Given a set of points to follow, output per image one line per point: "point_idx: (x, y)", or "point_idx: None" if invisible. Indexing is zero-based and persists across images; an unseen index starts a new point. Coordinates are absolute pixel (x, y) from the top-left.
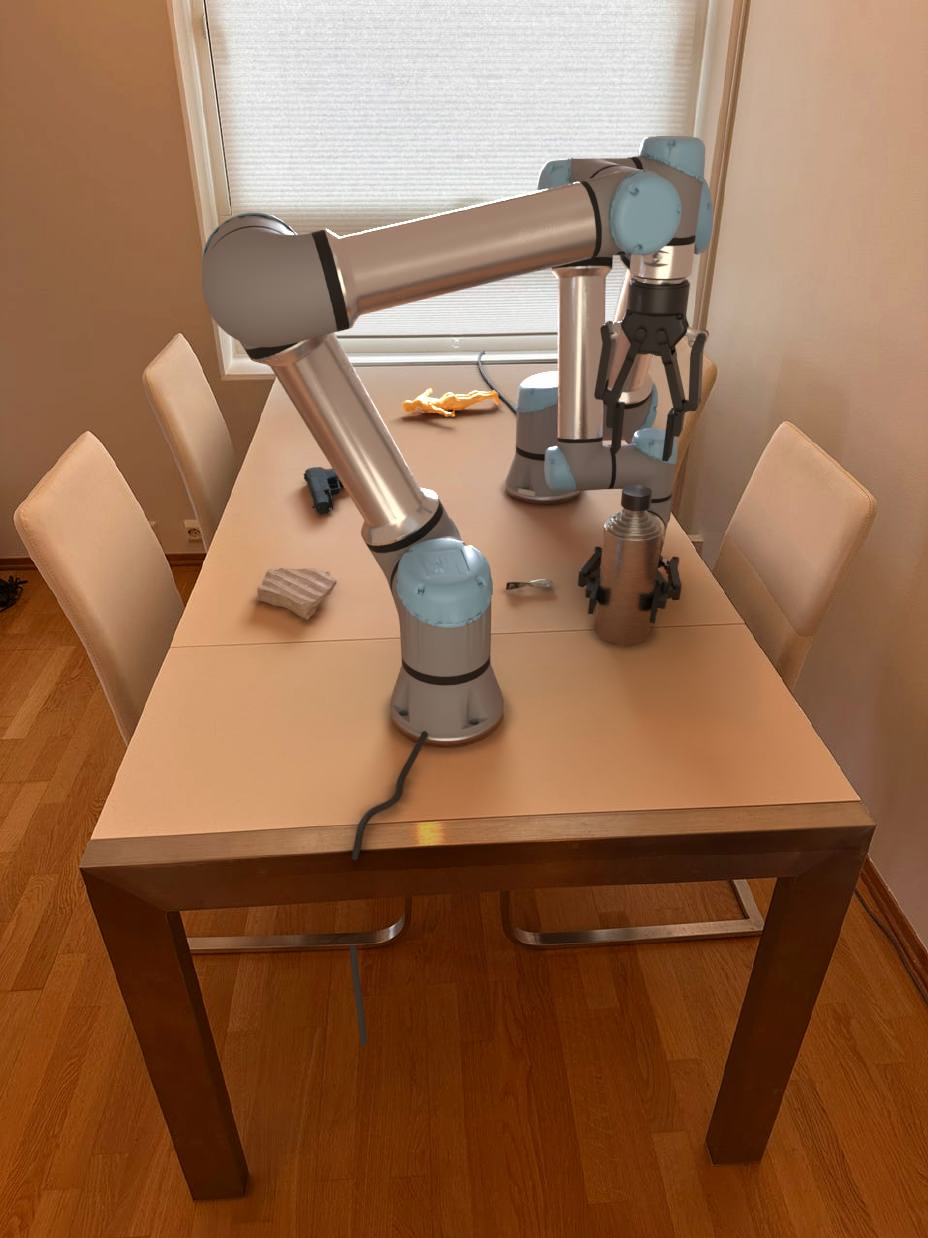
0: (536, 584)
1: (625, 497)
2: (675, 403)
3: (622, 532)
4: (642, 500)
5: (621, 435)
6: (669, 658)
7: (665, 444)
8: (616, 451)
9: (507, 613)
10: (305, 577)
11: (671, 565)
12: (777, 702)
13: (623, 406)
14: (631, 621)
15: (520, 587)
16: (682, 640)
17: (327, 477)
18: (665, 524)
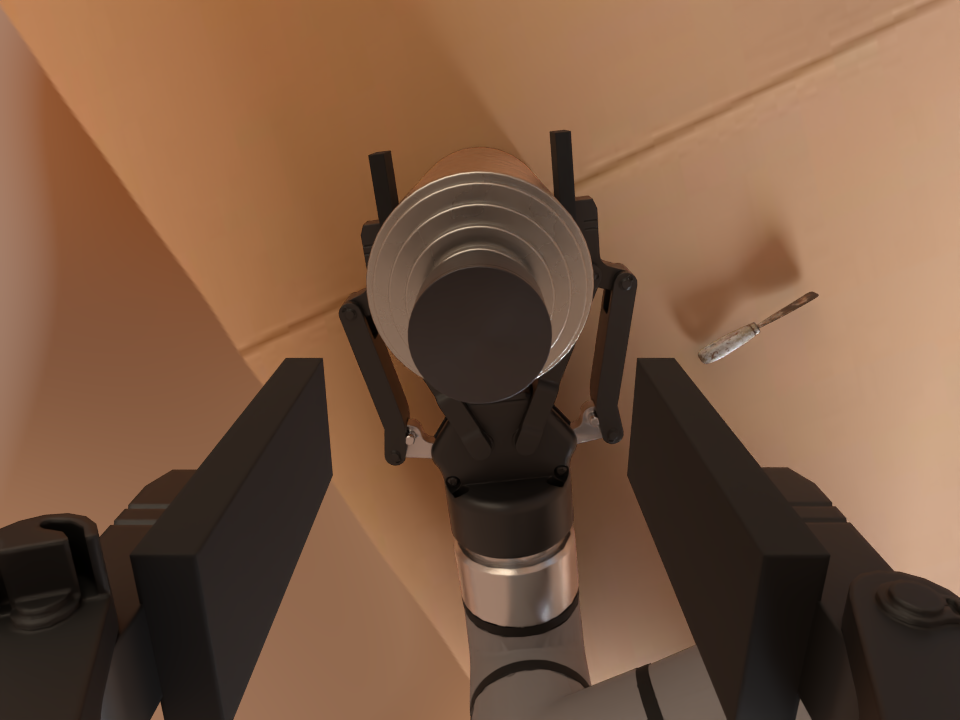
0: (738, 331)
1: (522, 275)
2: (43, 665)
3: (502, 194)
4: (437, 274)
5: (647, 512)
6: (340, 140)
7: (280, 403)
8: (639, 375)
9: (781, 188)
10: None
11: (394, 413)
12: (53, 48)
13: (728, 667)
14: (443, 160)
15: (775, 313)
16: (333, 234)
17: None
18: (466, 617)
